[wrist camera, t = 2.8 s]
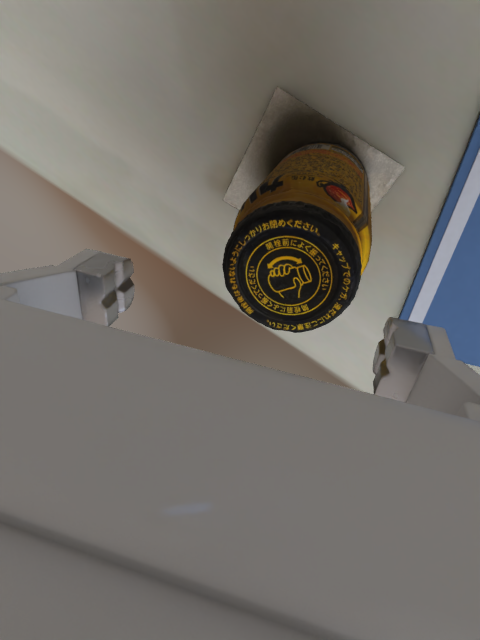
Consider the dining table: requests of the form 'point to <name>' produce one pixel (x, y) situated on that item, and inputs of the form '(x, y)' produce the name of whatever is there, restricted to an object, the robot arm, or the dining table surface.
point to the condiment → (302, 217)
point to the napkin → (453, 264)
